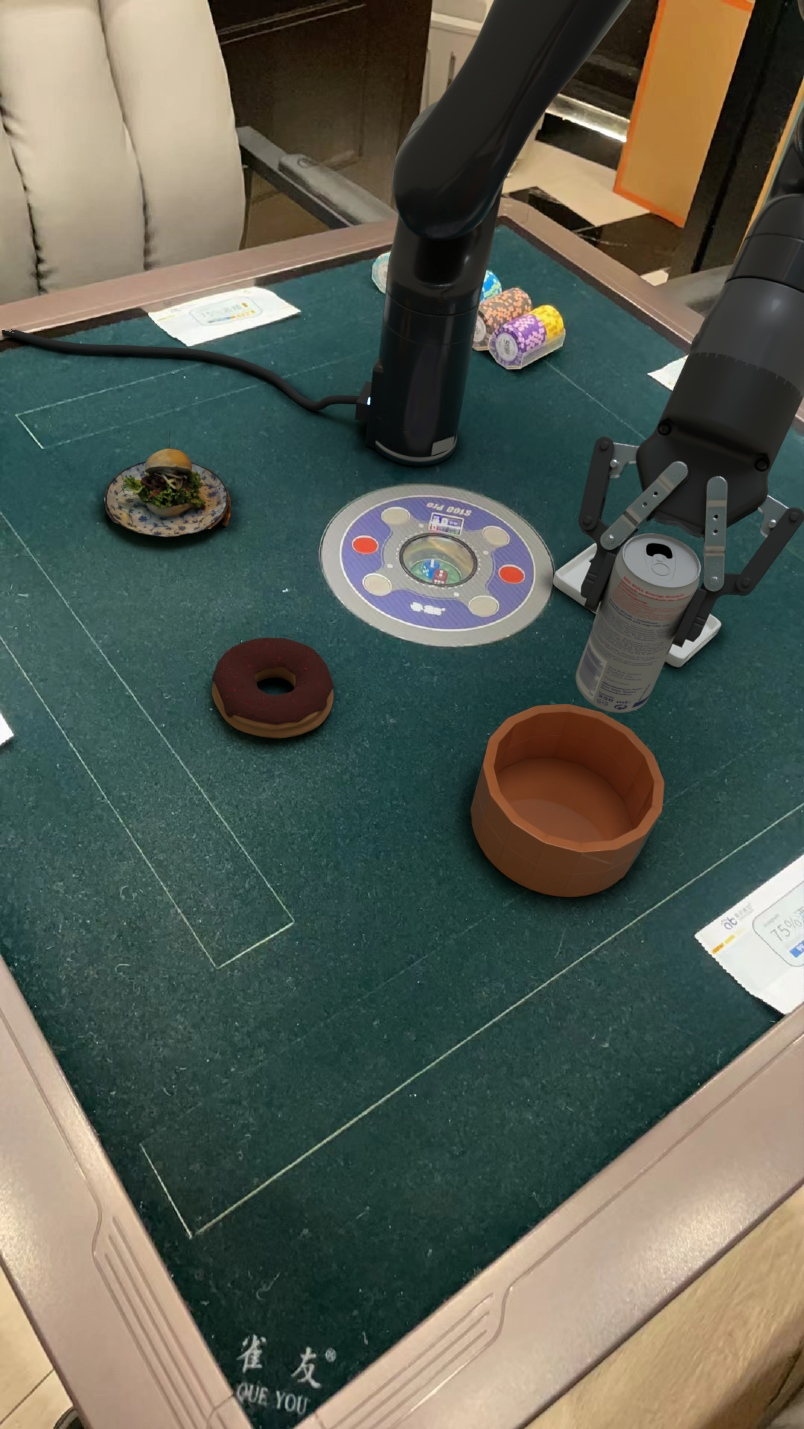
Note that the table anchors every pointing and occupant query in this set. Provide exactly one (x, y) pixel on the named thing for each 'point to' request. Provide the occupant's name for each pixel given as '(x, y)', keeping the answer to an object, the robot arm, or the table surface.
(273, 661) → the donut
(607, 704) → the energy drink
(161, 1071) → the table surface
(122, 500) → the burger
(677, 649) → the phone case
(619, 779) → the bowl
